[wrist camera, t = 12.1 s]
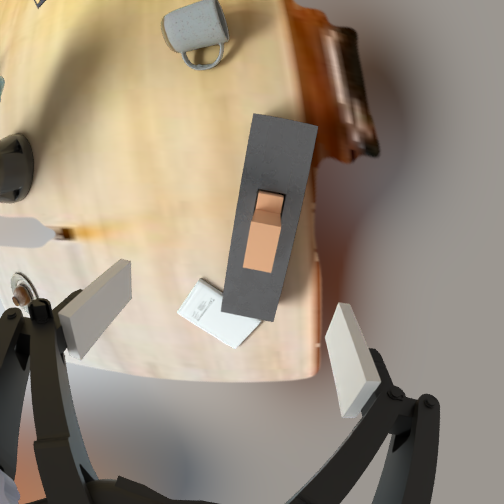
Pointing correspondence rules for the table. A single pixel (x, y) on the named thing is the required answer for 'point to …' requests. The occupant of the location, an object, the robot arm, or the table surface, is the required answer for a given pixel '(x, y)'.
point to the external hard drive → (215, 315)
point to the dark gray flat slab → (39, 2)
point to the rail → (254, 178)
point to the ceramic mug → (196, 29)
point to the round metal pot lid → (21, 292)
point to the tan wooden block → (264, 232)
